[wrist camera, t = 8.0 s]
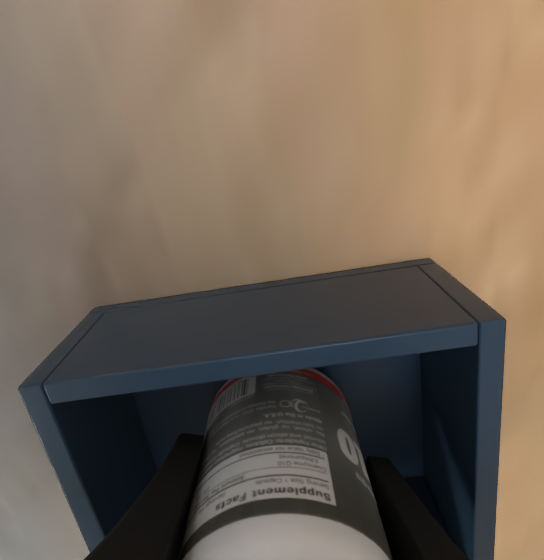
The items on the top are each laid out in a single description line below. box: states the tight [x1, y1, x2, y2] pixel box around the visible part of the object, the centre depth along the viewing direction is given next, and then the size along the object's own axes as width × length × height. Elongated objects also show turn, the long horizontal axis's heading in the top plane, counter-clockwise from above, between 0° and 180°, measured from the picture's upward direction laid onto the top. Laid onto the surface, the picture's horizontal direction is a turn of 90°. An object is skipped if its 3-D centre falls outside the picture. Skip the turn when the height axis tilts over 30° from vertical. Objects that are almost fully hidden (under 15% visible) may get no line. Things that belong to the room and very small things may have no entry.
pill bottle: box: [178, 368, 393, 560], centre depth 10 cm, size 5×5×8 cm
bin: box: [18, 258, 506, 560], centre depth 13 cm, size 11×9×4 cm
